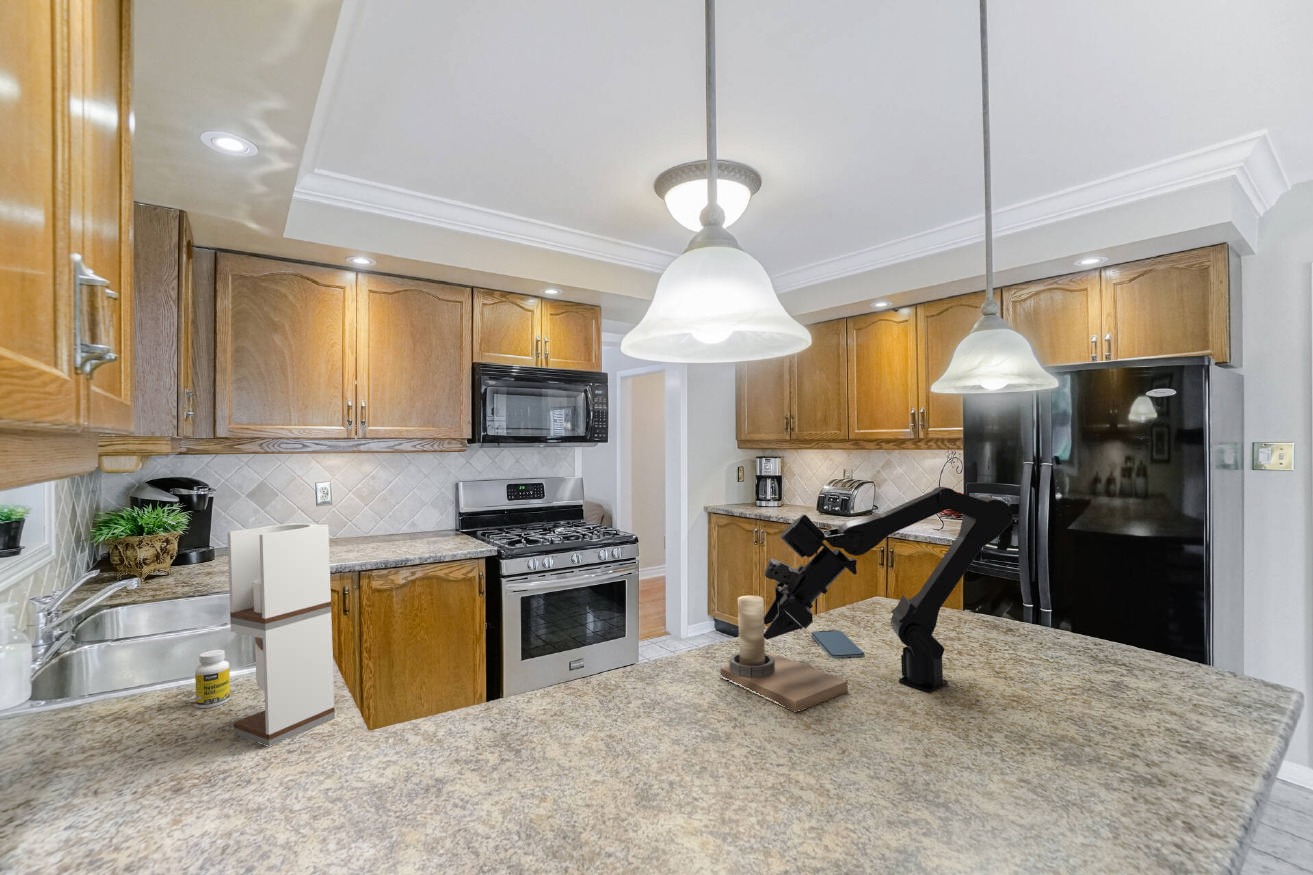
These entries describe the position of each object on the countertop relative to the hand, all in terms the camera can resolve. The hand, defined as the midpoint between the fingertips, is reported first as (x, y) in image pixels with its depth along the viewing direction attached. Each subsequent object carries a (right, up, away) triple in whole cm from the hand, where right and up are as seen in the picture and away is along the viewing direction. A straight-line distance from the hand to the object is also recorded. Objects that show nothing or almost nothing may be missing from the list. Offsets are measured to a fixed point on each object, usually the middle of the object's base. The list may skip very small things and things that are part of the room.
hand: (764, 630), depth 120 cm
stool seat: (+3, -10, -3) cm, 11 cm away
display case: (-87, -13, -13) cm, 89 cm away
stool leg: (-2, -8, 0) cm, 8 cm away
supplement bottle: (-108, -14, -2) cm, 109 cm away
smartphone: (+20, -10, +17) cm, 28 cm away
